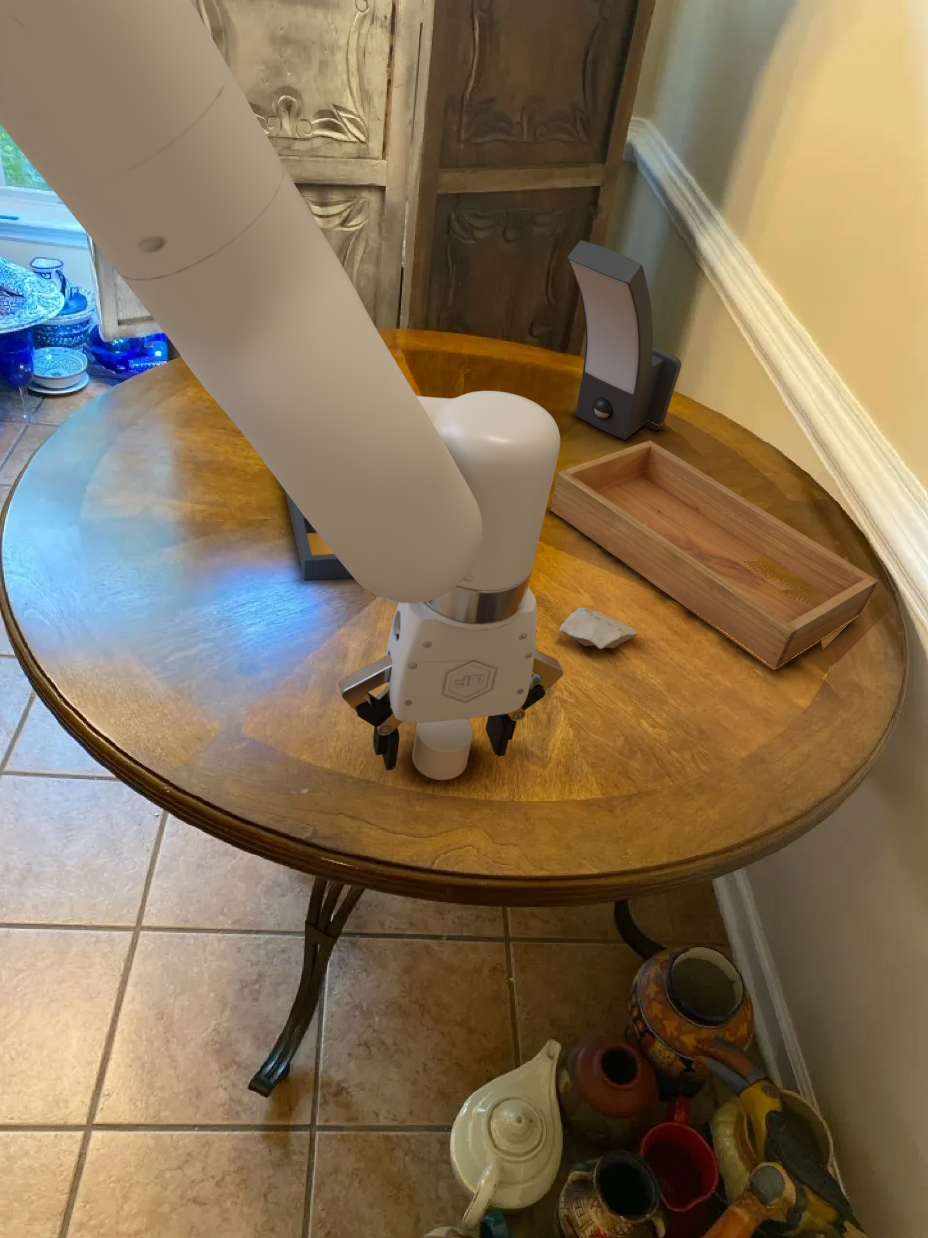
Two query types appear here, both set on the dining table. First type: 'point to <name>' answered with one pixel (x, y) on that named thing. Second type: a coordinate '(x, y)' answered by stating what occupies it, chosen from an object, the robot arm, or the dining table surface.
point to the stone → (596, 629)
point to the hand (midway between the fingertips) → (441, 749)
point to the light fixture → (619, 345)
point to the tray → (710, 549)
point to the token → (442, 748)
